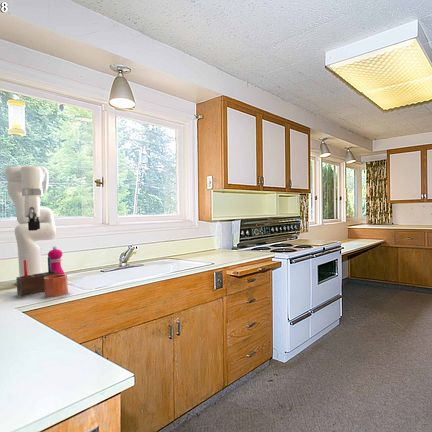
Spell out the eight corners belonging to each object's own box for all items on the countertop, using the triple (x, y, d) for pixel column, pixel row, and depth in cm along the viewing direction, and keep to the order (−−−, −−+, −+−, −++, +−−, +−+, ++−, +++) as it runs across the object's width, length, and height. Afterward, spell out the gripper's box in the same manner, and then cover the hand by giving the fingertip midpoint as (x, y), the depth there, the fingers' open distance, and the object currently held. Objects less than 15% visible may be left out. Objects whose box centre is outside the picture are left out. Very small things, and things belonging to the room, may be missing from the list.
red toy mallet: (24, 294, 144) (22, 259, 143) (27, 293, 145) (25, 259, 144) (26, 294, 143) (24, 260, 142) (29, 294, 143) (27, 260, 143)
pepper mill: (68, 283, 166) (66, 245, 165) (57, 287, 158) (55, 247, 157) (56, 283, 166) (54, 245, 165) (44, 286, 159) (42, 247, 158)
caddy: (17, 296, 143) (16, 277, 143) (54, 288, 155) (53, 271, 155) (22, 298, 140) (20, 278, 140) (59, 290, 152) (58, 272, 152)
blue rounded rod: (48, 289, 152) (46, 256, 151) (50, 288, 153) (49, 256, 152) (50, 289, 150) (48, 257, 150) (53, 289, 151) (51, 256, 151)
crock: (41, 297, 141) (40, 277, 141) (63, 292, 148) (62, 273, 148) (49, 300, 137) (48, 279, 136) (71, 295, 144) (70, 275, 143)
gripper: (24, 194, 152) (26, 229, 153) (18, 192, 138) (21, 231, 139) (44, 193, 157) (46, 228, 157) (40, 192, 142) (42, 230, 143)
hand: (34, 229), depth 148 cm, fingers open, 9 cm apart
